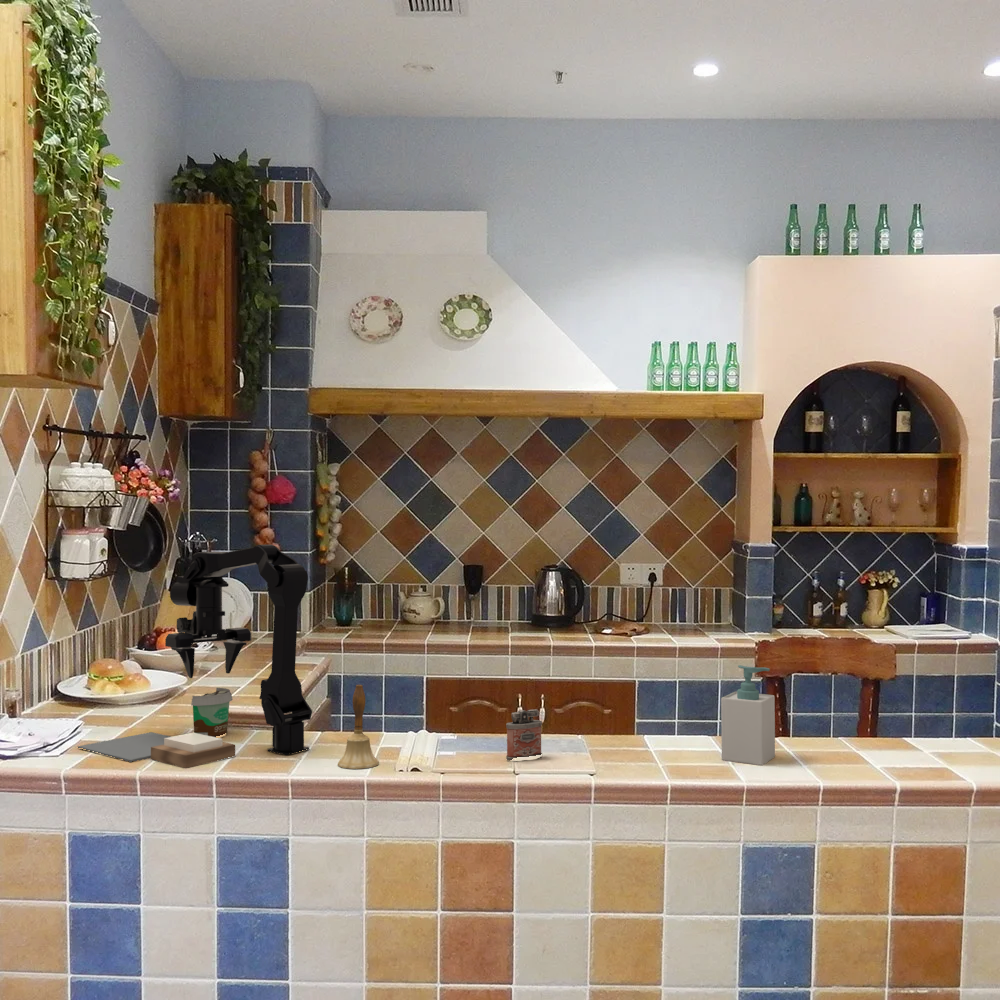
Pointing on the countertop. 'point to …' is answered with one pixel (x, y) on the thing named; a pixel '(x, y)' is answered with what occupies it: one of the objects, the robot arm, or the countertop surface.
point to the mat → (128, 746)
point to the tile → (193, 742)
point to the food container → (211, 712)
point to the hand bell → (358, 738)
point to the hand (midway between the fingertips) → (209, 675)
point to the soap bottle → (748, 723)
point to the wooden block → (191, 755)
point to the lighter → (523, 735)
